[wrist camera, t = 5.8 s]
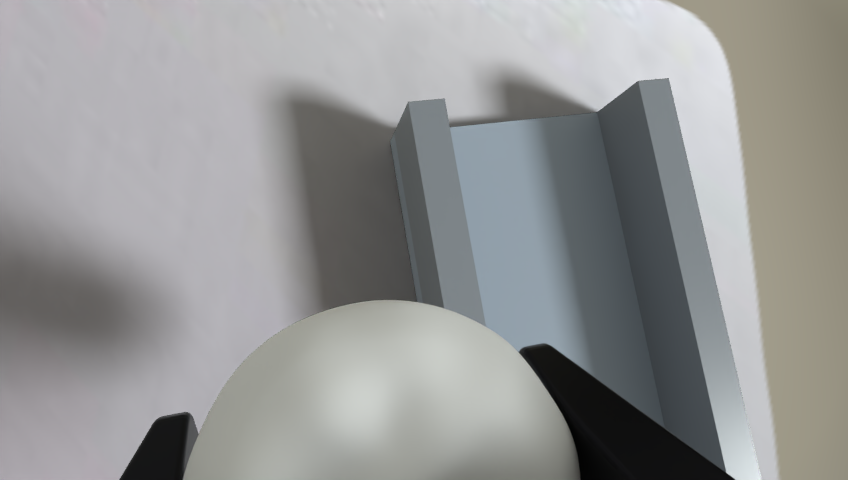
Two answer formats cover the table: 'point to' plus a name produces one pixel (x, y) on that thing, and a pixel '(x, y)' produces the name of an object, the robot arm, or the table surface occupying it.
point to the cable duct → (581, 253)
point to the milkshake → (384, 404)
